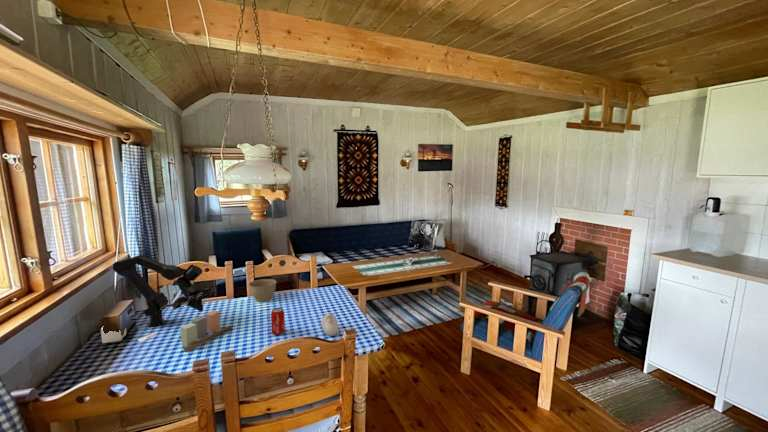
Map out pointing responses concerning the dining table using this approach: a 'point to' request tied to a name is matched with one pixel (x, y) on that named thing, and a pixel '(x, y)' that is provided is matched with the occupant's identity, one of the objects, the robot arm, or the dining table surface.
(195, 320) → the key grey
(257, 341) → the dining table surface
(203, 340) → the key console
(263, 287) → the planter bowl
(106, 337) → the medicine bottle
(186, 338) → the key sage
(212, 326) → the key terracotta
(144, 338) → the tile
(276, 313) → the soda can
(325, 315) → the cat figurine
